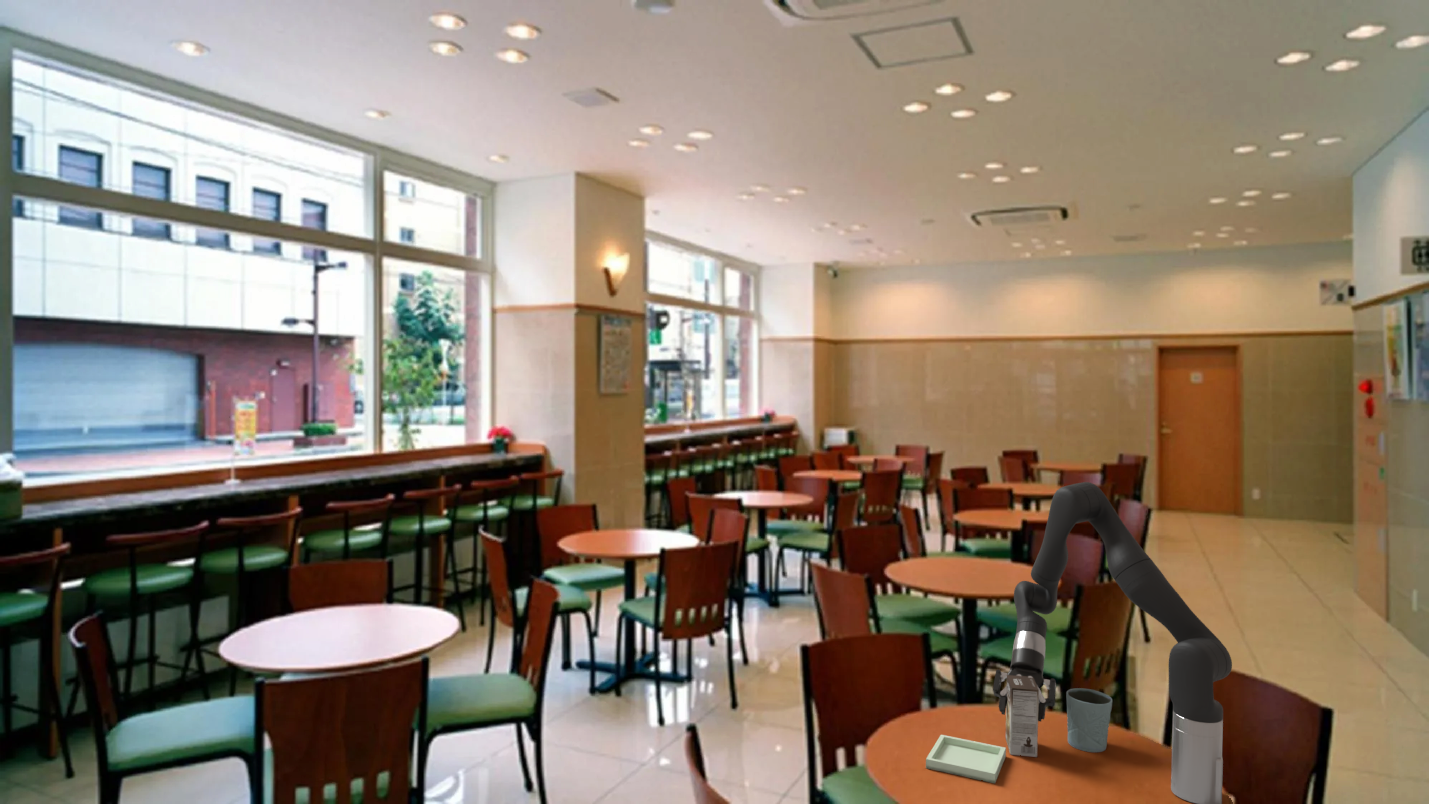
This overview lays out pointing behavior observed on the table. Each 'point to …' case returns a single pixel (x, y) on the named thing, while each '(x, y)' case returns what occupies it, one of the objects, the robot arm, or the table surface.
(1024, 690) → the coffee box
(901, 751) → the table surface
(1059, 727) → the table surface
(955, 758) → the tray
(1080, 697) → the blue-grey cup
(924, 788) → the table surface
